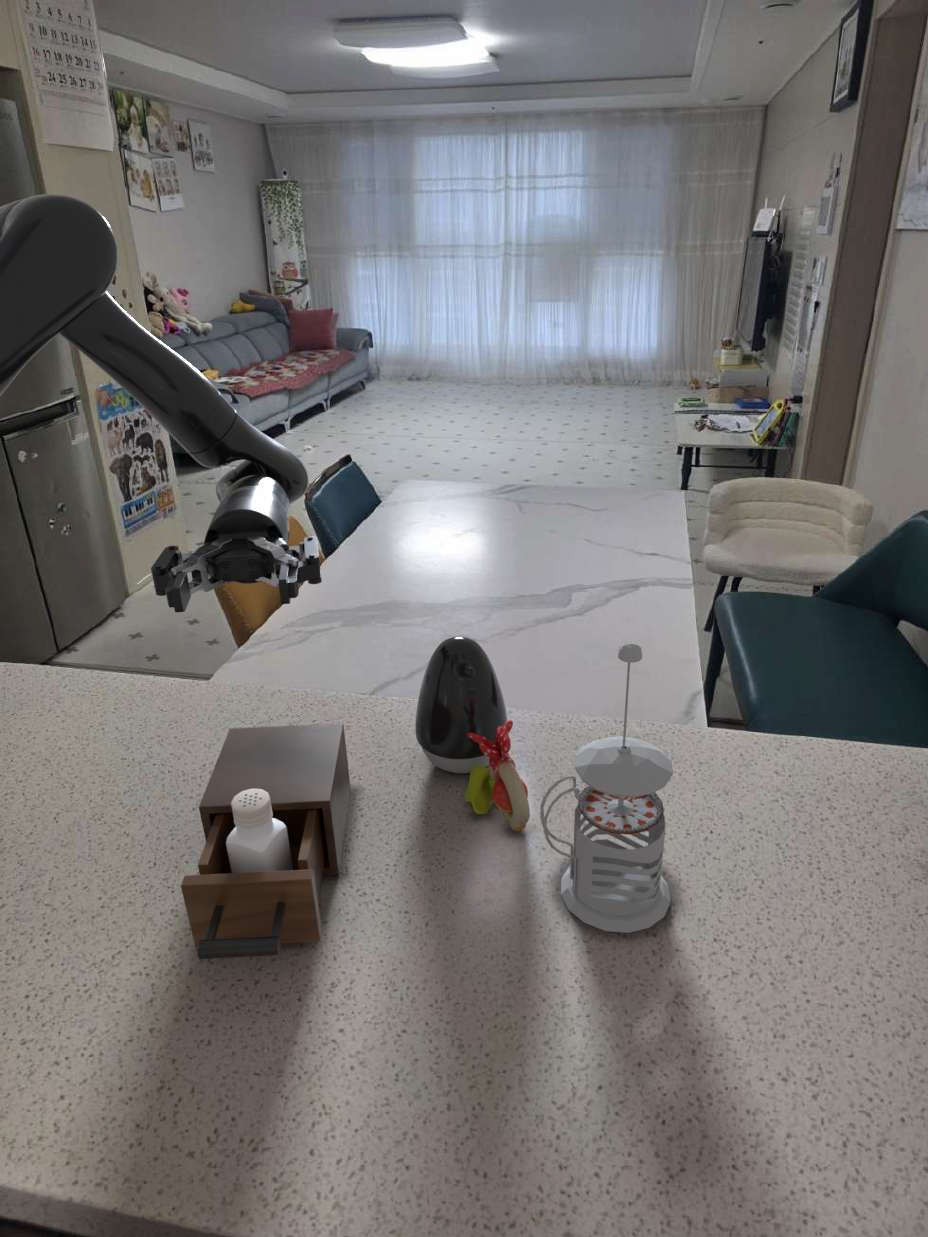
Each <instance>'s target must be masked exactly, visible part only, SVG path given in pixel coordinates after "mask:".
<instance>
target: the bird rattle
mask: <svg viewBox="0 0 928 1237" xmlns="http://www.w3.org/2000/svg"><path fill="white" fill-rule="evenodd" d="M513 725H514V722H513V720H511V719H510V720H508V721H507V722H506V723H505V724H504V725H503V726H499V727H498V728H497V730H496V733H495V737H494V741H495V744H494V743H492V742H491V741H489V740H488V739H487V738H486V737H483V736H480V735H477V734H474V733H468V737H469V738H470V739H472V740H474V741H475V742H477V743H479V744H480V750H481V751H482V752H483V753H484V754H485V755H486V756H488V757H490V758H489V765H488V767H487V766H486V767H483V766H475V767H473V768H472V770H471V772H470V773H469V783H468V785H467V788H466V791H465V795H464V802H467V803H471V806H472V810H473V812H474V813H475V814H476V815H486V814H487V813H488V812H489V810H490V808H491V806H492V805H493V804H494V805H495V806H496V807H497V808H498V809H499V810H501V811H502V813H503V815H504V817H505V818H506V820H507V822H508V824H509V826H510V829H511V830H512V831H513V832H520V831H523V830H524V829H525V828H526V826H527V823H529V821H530V817H531V810H530V803H529V798H528V797H529V792H528V786H527V784H526V783H525V782H524V780H523V779H521V776H520V774H519V773H518V771H517V769H516V763H515V761H514V760H513V758H512V757H511V755H510V754H509V752H510V750H511V747H512V742H511V738H510V736H509V734H510V732H511V730H512V728H513Z"/></svg>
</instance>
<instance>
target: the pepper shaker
mask: <svg viewBox="0 0 928 1237" xmlns="http://www.w3.org/2000/svg"><path fill="white" fill-rule="evenodd" d="M231 806H232V811H233V817H234V823H235V825H236V827H235V828H234V829H233V830H232V832H231V833H230V835H229V836H228V837H227V841H226V846H227V852H228V857H229V862H230V867H231V872H232V873H247V872H268V871H288V870H293V865H292V859H291V852H290V846H289V839H288V833H287V827H286V825H285V824H284V823H283V822H281V821H279V820H277V819H275V818H272V816H273V812H272V807H271V801H270V797H269V794H268V792H266V791H264V790H262V789H248V790H244V791H242V792H240V793H239V794H237V795H236V796H234V798H233V800H232V802H231Z"/></svg>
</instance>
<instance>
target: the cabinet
mask: <svg viewBox="0 0 928 1237" xmlns="http://www.w3.org/2000/svg"><path fill="white" fill-rule="evenodd" d="M347 753H348V752H347V743H346V735H345V725H344V723H343V722H342V723H322V724H321V723H319V724H300V725H299V724H298V725H279V726H278V725H277V726H257V727H233V728H232V727H231V728H229V730H228V732H227V735H226V737H225V740H224V742H223V745H222V748H221V750H220V752H219V755H218V758H217V760H216V763H215V765H214V767H213V770H212V773H211V775H210V778H209V780H208V783H207V785H206V788H205V790H204V793H203V795H202V798H201V801H200V803H199V805H198V811H199V814H200V820H201V825H202V828H203V834H204V839H205V842H206V841H207V838H208V836H209V833H210V830H211V827H212V825H213V822H214V819H215V816H216V813H232V812H233V811H232V806H231V802H232V800H233V798H234V796H236V795H237V794H239V793H240V792H242V791H244V790H248V789H262V790H264V791H266V792H268V794H269V797H270V801H271V807H272V811H274V810H295V809H316V808H322V813H323V820H324V828H325V835H326V843H327V849H326V855H325V861H324V867H323V873H322V876H339V875H340V871H341V865H342V864H341V863H342V856H343V850H344V849H343V848H344V842H345V836H346V835H345V834H346V828H347V820H348V814H349V806H350V799H351V794H352V793H351V792H352V789H351V781H350V780H351V779H350V771H349V770H350V769H349V762H348V754H347Z"/></svg>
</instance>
